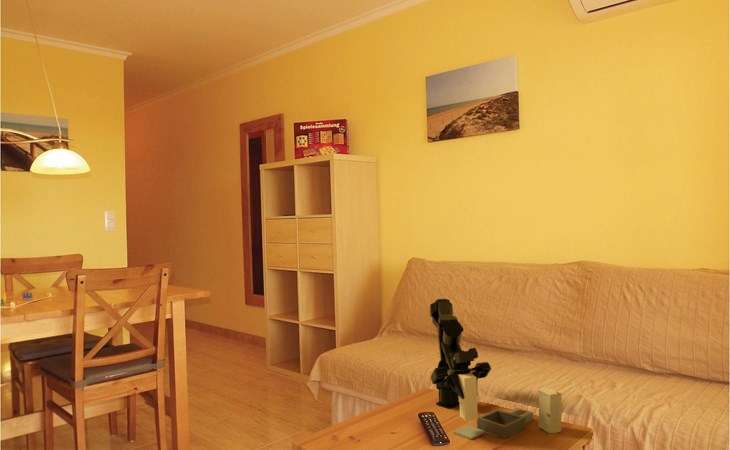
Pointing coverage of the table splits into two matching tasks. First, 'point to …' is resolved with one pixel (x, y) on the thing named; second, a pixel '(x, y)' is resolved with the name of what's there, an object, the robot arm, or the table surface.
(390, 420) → the table surface
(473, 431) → the rubber mat
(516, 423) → the grey green open tray
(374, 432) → the table surface
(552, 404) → the skincare box
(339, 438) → the table surface
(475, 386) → the cream rectangular block
